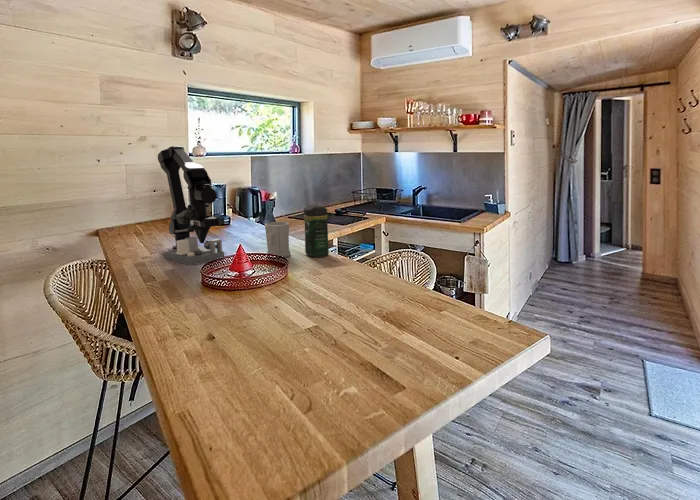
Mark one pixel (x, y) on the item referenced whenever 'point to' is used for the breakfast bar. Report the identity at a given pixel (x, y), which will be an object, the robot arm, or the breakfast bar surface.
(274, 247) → the cup
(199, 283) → the breakfast bar surface
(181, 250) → the cream flanged block
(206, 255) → the console
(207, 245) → the plunger
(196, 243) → the white stepped block
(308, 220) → the coffee jar
